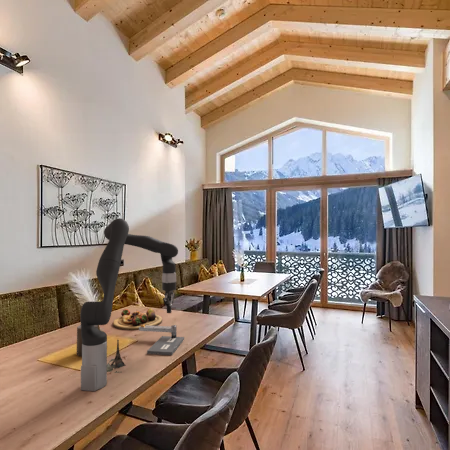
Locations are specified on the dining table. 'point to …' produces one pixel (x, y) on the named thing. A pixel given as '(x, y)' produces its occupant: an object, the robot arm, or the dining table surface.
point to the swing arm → (159, 329)
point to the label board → (165, 345)
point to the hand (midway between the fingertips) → (169, 312)
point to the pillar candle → (80, 340)
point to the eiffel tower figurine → (116, 361)
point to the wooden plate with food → (136, 319)
